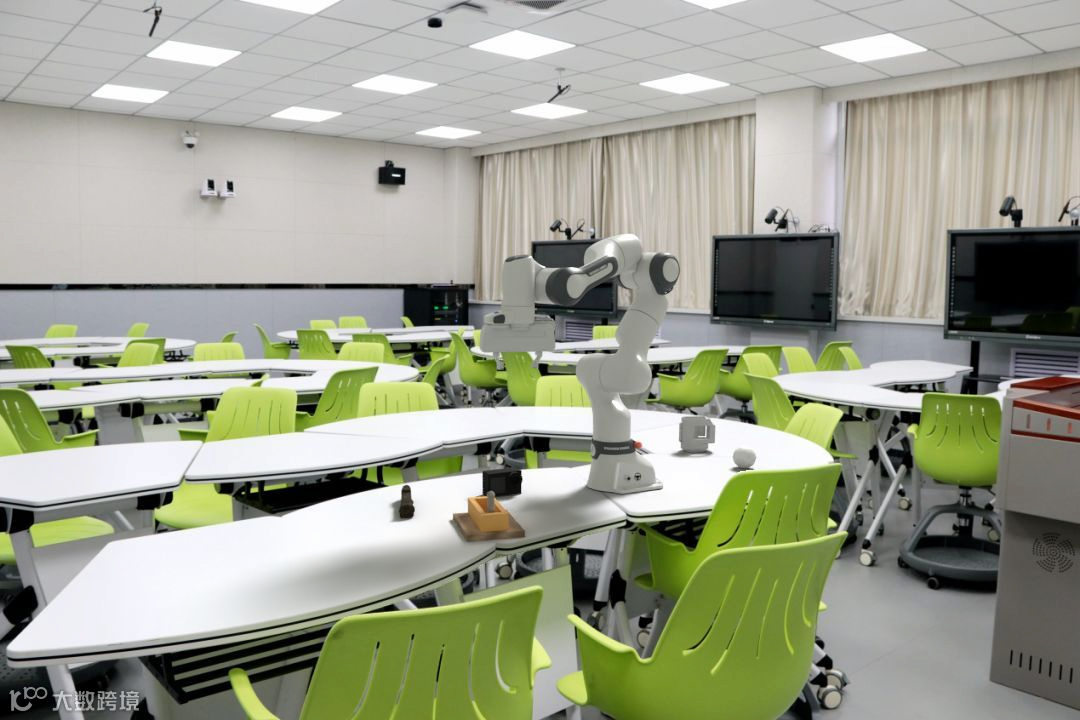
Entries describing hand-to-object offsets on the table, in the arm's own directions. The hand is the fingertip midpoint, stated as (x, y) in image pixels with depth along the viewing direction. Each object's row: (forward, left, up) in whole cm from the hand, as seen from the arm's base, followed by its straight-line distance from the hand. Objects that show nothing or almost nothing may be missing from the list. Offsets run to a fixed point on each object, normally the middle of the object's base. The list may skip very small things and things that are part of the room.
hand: (517, 368), depth 217 cm
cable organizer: (-80, -49, -37) cm, 101 cm away
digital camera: (+1, -11, -37) cm, 39 cm away
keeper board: (+12, +17, -37) cm, 42 cm away
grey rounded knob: (-83, -23, -37) cm, 94 cm away
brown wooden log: (+29, -5, -38) cm, 48 cm away
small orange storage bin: (+12, +16, -36) cm, 41 cm away
